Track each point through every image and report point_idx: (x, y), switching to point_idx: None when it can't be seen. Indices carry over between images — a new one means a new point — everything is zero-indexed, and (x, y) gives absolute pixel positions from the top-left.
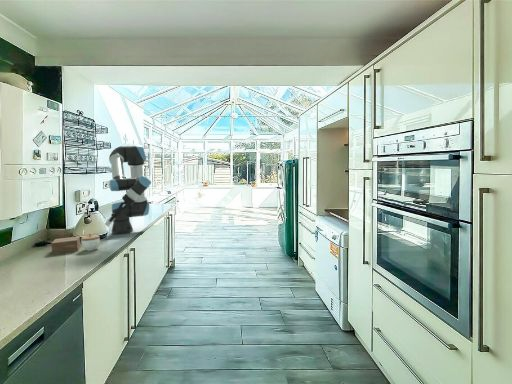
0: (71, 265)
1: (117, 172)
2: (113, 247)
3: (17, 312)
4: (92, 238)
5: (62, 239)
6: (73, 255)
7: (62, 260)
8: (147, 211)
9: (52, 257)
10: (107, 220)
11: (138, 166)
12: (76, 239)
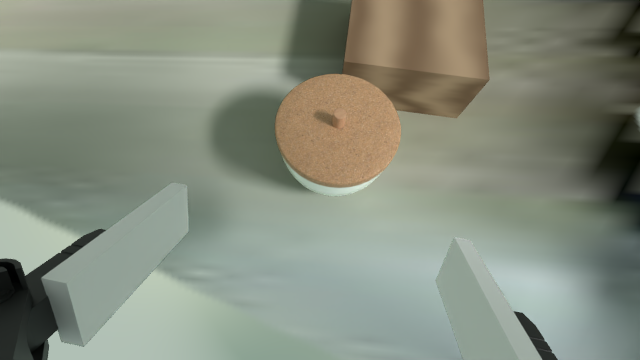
0: (34, 71)
1: None
2: (293, 280)
3: None
4: (275, 134)
5: (438, 3)
6: (247, 82)
7: (177, 44)
8: None
9: (279, 15)
10: (455, 242)
11: None
12: (377, 60)
